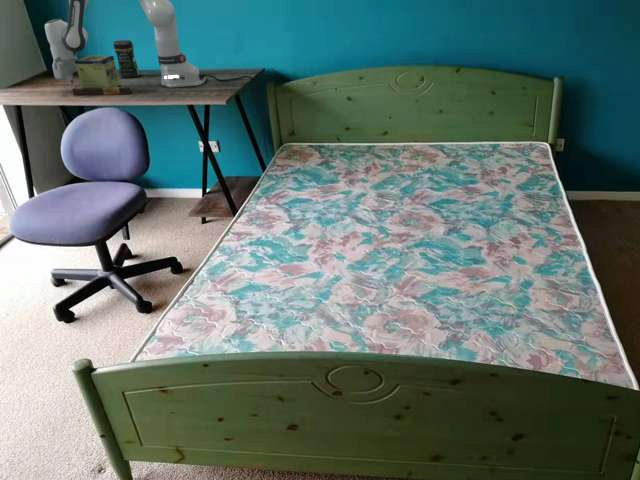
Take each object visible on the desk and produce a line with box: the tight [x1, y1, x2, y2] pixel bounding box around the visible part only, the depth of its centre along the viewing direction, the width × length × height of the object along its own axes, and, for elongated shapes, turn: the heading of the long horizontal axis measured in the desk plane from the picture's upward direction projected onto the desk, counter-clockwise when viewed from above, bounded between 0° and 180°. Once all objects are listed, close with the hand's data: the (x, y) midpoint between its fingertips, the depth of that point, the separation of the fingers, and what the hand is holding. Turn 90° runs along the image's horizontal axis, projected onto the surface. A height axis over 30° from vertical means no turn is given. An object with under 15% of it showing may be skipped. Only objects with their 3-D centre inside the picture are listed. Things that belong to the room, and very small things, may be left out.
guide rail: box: [72, 86, 132, 96], centre depth 295 cm, size 28×2×3 cm, turn 89°
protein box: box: [75, 55, 122, 88], centre depth 298 cm, size 10×16×16 cm
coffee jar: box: [113, 39, 141, 79], centre depth 318 cm, size 10×8×19 cm
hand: (70, 83), depth 300 cm, fingers closed
